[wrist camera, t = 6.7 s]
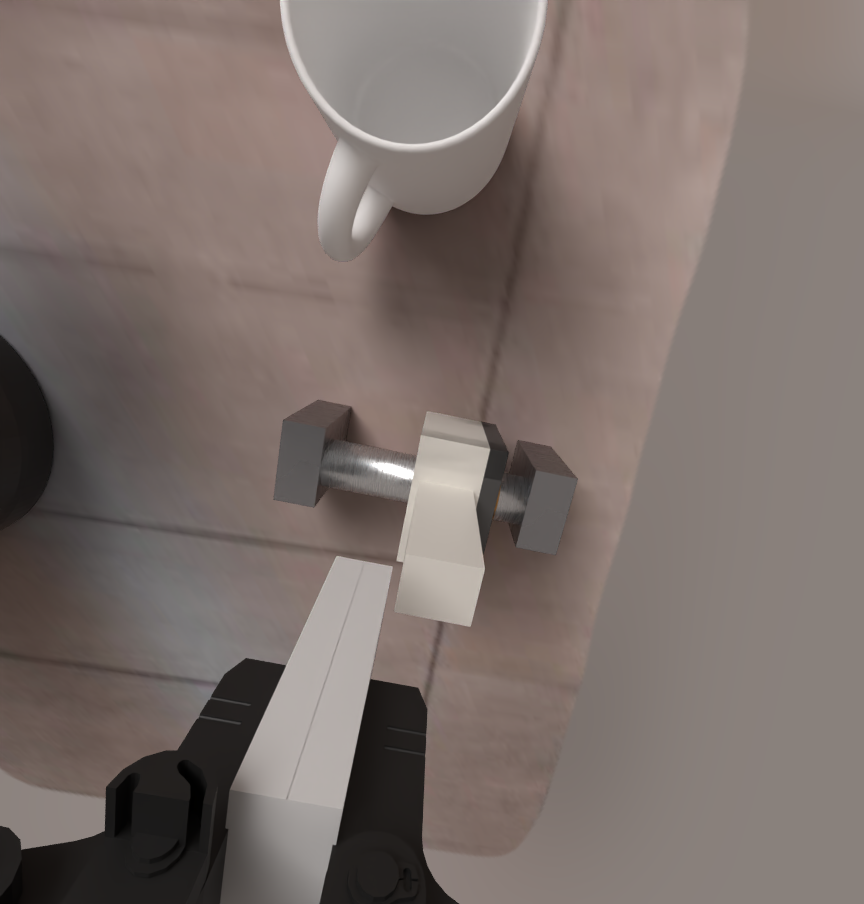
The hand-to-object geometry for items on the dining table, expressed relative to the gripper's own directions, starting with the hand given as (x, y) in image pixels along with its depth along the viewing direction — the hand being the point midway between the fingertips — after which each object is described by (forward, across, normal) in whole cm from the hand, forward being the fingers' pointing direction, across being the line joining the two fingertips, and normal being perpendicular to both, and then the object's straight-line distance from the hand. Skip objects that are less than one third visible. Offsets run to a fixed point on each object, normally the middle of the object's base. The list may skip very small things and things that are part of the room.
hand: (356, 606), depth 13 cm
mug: (+17, -3, +15) cm, 23 cm away
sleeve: (+15, +3, 0) cm, 15 cm away
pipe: (+17, +2, 0) cm, 17 cm away
